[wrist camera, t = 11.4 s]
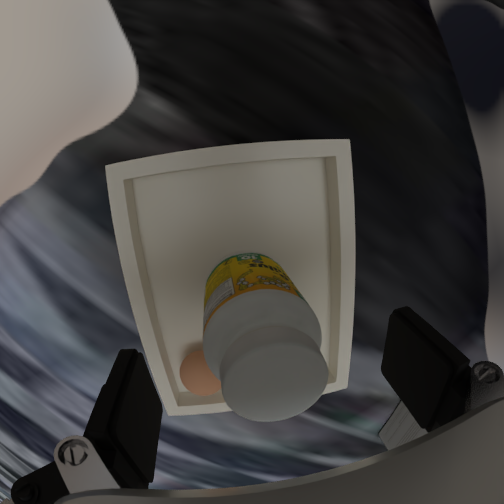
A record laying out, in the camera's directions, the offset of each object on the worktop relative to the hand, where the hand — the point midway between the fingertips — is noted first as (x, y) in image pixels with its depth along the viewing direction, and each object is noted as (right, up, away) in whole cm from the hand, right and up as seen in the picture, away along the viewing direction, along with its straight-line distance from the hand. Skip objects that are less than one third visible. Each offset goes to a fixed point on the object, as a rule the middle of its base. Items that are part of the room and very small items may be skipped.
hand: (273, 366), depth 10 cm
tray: (-1, +2, +10) cm, 10 cm away
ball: (-4, -4, +10) cm, 11 cm away
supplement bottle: (-1, +2, +9) cm, 9 cm away
